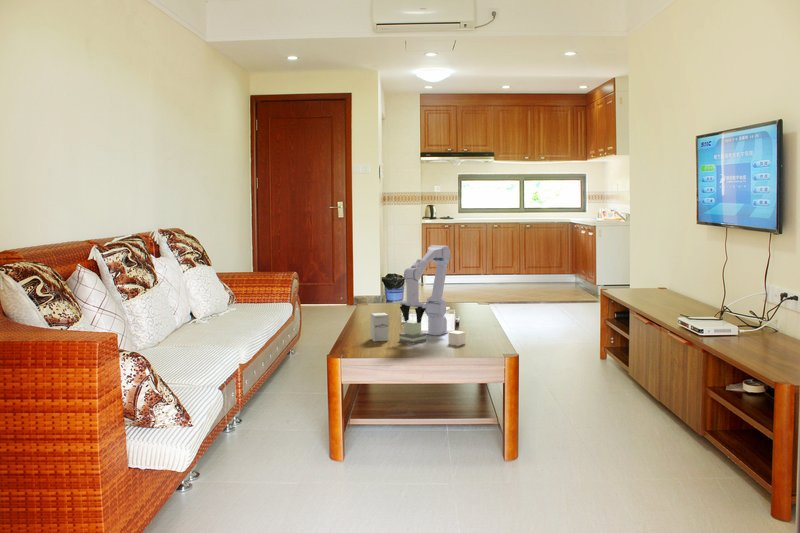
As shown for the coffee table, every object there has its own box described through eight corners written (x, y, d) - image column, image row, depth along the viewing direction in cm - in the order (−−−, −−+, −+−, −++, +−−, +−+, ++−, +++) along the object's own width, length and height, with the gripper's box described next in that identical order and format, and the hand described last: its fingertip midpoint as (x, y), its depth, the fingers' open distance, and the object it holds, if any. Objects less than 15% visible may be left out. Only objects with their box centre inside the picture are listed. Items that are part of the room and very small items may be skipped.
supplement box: (373, 341, 321) (373, 315, 320) (370, 338, 329) (370, 313, 327) (389, 340, 323) (388, 314, 322) (385, 337, 330) (385, 312, 329)
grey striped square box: (412, 338, 329) (412, 330, 329) (426, 341, 323) (426, 333, 323) (399, 341, 323) (399, 333, 322) (413, 344, 317) (413, 336, 316)
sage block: (412, 331, 326) (412, 320, 326) (421, 333, 323) (421, 321, 322) (404, 333, 322) (404, 321, 322) (413, 335, 319) (413, 323, 318)
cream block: (455, 342, 320) (455, 330, 319) (465, 343, 316) (465, 332, 316) (448, 344, 316) (448, 332, 315) (458, 345, 312) (458, 333, 311)
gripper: (395, 292, 322) (395, 321, 324) (419, 295, 313) (419, 324, 314) (405, 291, 327) (405, 318, 329) (428, 293, 318) (428, 322, 319)
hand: (412, 321), depth 322 cm, fingers open, 7 cm apart
